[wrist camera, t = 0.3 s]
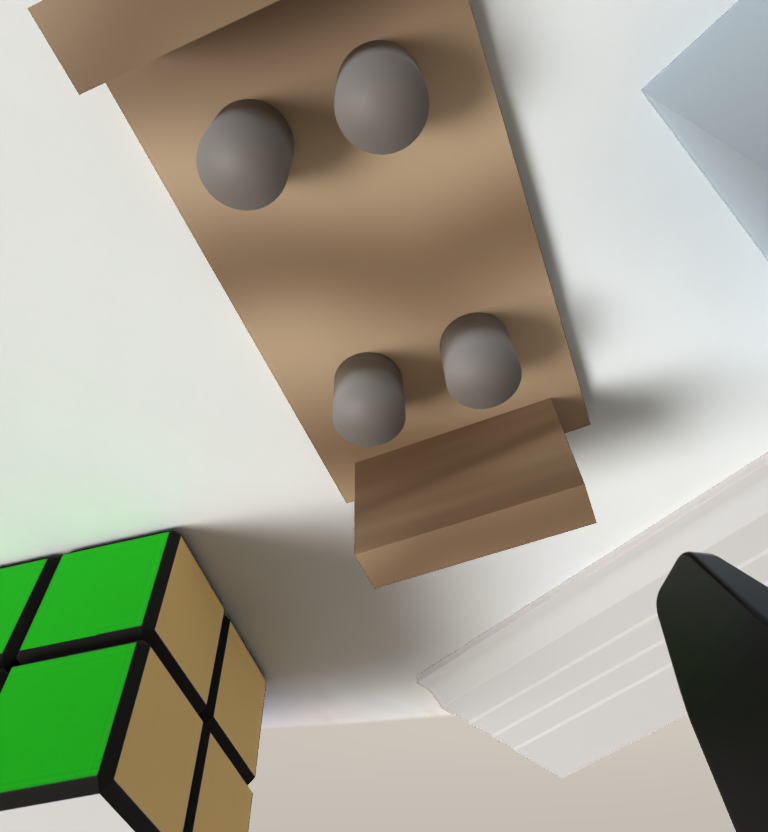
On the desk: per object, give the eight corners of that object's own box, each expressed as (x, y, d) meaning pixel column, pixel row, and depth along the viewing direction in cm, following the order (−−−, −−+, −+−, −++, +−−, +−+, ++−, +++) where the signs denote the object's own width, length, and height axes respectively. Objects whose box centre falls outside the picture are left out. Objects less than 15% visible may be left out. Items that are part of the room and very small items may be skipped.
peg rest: (66, 3, 18) (-18, 30, 14) (417, -172, 16) (437, -200, 12) (346, 496, 27) (345, 597, 23) (587, 418, 25) (630, 512, 21)
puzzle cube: (67, 717, 34) (-25, 973, 26) (-59, 575, 29) (-227, 843, 20) (269, 679, 33) (240, 934, 25) (179, 523, 27) (103, 785, 19)
